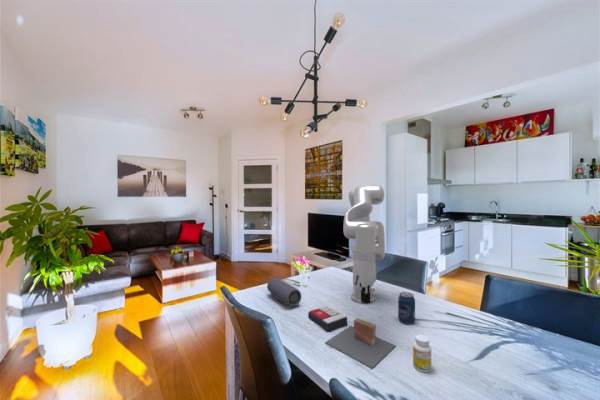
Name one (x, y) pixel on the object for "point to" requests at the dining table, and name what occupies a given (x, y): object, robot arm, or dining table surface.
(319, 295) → the dining table surface
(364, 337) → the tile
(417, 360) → the supplement bottle
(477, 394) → the dining table surface
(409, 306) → the soda can
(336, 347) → the mat
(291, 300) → the bluetooth speaker
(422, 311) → the dining table surface
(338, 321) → the red and cream box
